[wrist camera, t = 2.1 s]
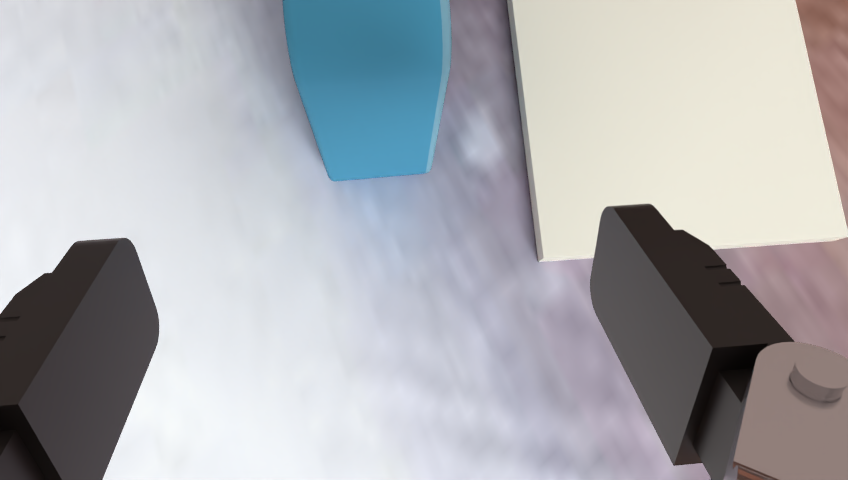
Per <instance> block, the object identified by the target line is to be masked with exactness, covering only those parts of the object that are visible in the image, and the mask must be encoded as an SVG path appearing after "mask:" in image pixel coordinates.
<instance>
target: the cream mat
mask: <svg viewBox="0 0 848 480" xmlns="http://www.w3.org/2000/svg"><path fill="white" fill-rule="evenodd" d="M507 5H508V13H509V21H510V30H511V38H512V46H513V55H514V63H515V72H516V80H517V88H518V97H519V105H520V113H521V122H522V130H523V138H524V147H525V155H526V163H527V172H528V180H529V188H530V197H531V205H532V213H533V222H534V230H535V239H536V247H537V255H538V262H545V261H559V260H573V259H587V258H594V254H595V248H596V242H597V236H598V229H599V223H600V218H601V214H602V212H603V210H604V209H605V208H606V207H608V206H620V205H634V204H652V205H653V206H654V207H655V208H656V209H657V210H658V211H659V212H660V214H661V215H662V216H663V217H664V219H665V220H666V221H667V222H668V223H669V225H670V226H671V227H672V228H673V229H674V230H684V231H686V232H688V233H689V234H691V235H693V236H694V237H696V238H698V239H699V240H701V241H703V242H704V243H706V244H708V245H709V246H710V247H711V248H712V249H727V248H741V247H755V246H769V245H783V244H797V243H811V242H825V241H835V240H838V239H842V238H845V237H848V230H847V225H846V221H845V216H844V212H843V208H842V203H841V199H840V194H839V190H838V186H837V181H836V177H835V173H834V168H833V164H832V159H831V155H830V151H829V146H828V142H827V137H826V133H825V129H824V124H823V120H822V116H821V111H820V107H819V102H818V98H817V94H816V89H815V85H814V80H813V76H812V72H811V67H810V63H809V59H808V54H807V50H806V45H805V41H804V37H803V32H802V28H801V23H800V19H799V15H798V10H797V6H796V2H795V0H507Z"/></svg>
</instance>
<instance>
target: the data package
mask: <svg viewBox="0 0 848 480" xmlns="http://www.w3.org/2000/svg"><path fill="white" fill-rule="evenodd" d="M283 13H284V23H285V31H286V39H287V46H288V52H289V57H290V63H291V67H292V72H293V76H294V79H295V82H296V85H297V88H298V91H299V94H300V97H301V99H302V102H303V105H304V108H305V111H306V114H307V117H308V120H309V122H310V125H311V128H312V131H313V134H314V137H315V140H316V142H317V145H318V148H319V151H320V154H321V157H322V160H323V162H324V165H325V168H326V171H327V174H328V176H329V178H330V179H331V180H332V181H344V180H356V179H367V178H378V177H390V176H401V175H413V174H424V173H428V172H429V171H430V170H431V167H432V162H433V157H434V152H435V147H436V141H437V136H438V131H439V125H440V120H441V115H442V109H443V104H444V99H445V94H446V88H447V83H448V78H449V72H450V66H451V49H452V37H451V15H450V3H449V0H283Z"/></svg>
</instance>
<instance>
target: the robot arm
mask: <svg viewBox="0 0 848 480" xmlns="http://www.w3.org/2000/svg"><path fill="white" fill-rule="evenodd" d="M590 292H591V299H592V304H593V308H594V310H595V313H596V315H597V317H598V319H599V321H600V323H601V325H602V327H603V329H604V331H605V333H606V335H607V336H608V338H609V340H610V342H611V344H612V346H613V348H614V350H615V352H616V354H617V356H618V358H619V360H620V362H621V364H622V366H623V368H624V370H625V372H626V374H627V375H628V377H629V379H630V381H631V383H632V385H633V387H634V389H635V391H636V393H637V395H638V397H639V399H640V401H641V403H642V405H643V407H644V409H645V411H646V413H647V415H648V416H649V418H650V420H651V422H652V424H653V426H654V428H655V430H656V432H657V434H658V436H659V438H660V440H661V442H662V444H663V446H664V448H665V450H666V452H667V454H668V455H669V457H670V459H671V461H672V463H673V465H674V466H675V465H685V464H696V463H703V465H704V466H705V468H706V470H707V472H708V473H709V475H710V479H709V480H848V359H847V358H845V357H843V356H842V355H840V354H837V353H835V352H833V351H831V350H828V349H825V348H822V347H819V346H815V345H811V344H806V343H800V342H794V340H793V339H792V338H791V337H790V336H789V335H788V334H787V333H786V331H785V330H784V329H783V328H782V327H781V326H780V325H779V324H778V322H777V321H776V320H775V319H774V318H773V317H772V316H771V314H770V313H769V312H768V311H767V310H766V309H765V308H764V307H763V305H762V304H761V303H760V302H759V301H758V300H757V299H756V298H755V296H754V295H753V294H752V293H751V292H750V291H749V290H748V289H747V287H746V286H745V285H741V281H740V280H739V278H738V277H737V276H736V275H735V274H734V273H733V272H732V271H731V269H727V268H726V264H725V263H724V262H723V260H722V259H721V258H720V257H719V256H718V255H717V254H716V253H715V251H714V250H713V249H712V248H711V247H710V246H709V245H708V244H706V243H704V242H703V241H701V240H699V239H698V238H696V237H694V236H693V235H691V234H689V233H688V232H686V231H684V230H674V229H673V228H672V227H671V226H670V225H669V223H668V222H667V221H666V220H665V219H664V217H663V216H662V215H661V214H660V212H659V211H658V210H657V209H656V208H655V207H654V206H653V205H652V204H634V205H620V206H608V207H606V208H605V209H604V210H603V212H602V214H601V218H600V223H599V229H598V236H597V242H596V248H595V254H594V260H593V266H592V272H591V279H590ZM158 337H159V319H158V313H157V309H156V306H155V303H154V300H153V297H152V295H151V292H150V289H149V286H148V283H147V280H146V277H145V275H144V272H143V269H142V266H141V263H140V260H139V257H138V255H137V252H136V249H135V247H134V245H133V244H132V242H131V241H130V240H129V239H127V238H115V239H100V240H86V241H77V242H75V243H74V244H73V245H72V246H71V247H70V249H69V250H68V252H67V253H66V254H65V256H64V257H63V259H62V260H61V261H60V263H59V264H58V265H57V267H56V268H55V270H54V271H53V272H52V273H44V274H43V275H42V276H40V277H39V278H38V279H36V280H35V281H33V282H32V283H31V284H29V285H28V286H27V287H25V288H24V289H22V290H21V291H20V292H18V293H17V294H16V295H15V296H14V297H13V299H12V300H11V301H10V302H9V304H8V305H7V306H6V308H5V309H4V310H3V311H2V313H1V314H0V480H102V479H103V477H104V474H105V472H106V469H107V467H108V464H109V462H110V459H111V457H112V454H113V452H114V449H115V447H116V445H117V442H118V440H119V437H120V435H121V432H122V430H123V427H124V425H125V422H126V420H127V417H128V415H129V413H130V410H131V408H132V405H133V403H134V400H135V398H136V395H137V393H138V390H139V388H140V386H141V383H142V381H143V378H144V376H145V373H146V371H147V368H148V366H149V363H150V361H151V358H152V356H153V354H154V351H155V349H156V346H157V342H158Z"/></svg>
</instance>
